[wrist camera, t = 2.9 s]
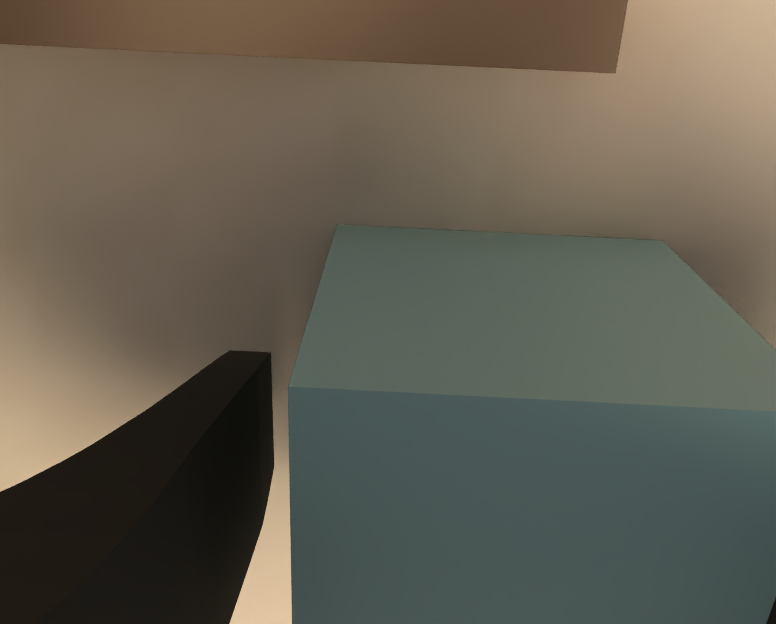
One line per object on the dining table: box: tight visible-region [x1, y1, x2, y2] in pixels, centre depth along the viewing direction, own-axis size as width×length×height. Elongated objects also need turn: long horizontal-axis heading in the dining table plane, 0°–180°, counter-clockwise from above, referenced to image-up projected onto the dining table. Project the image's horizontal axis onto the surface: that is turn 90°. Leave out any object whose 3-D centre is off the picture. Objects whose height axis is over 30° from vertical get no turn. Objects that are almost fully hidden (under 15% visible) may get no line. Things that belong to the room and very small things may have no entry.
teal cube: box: [288, 224, 776, 624], centre depth 10 cm, size 5×5×5 cm
